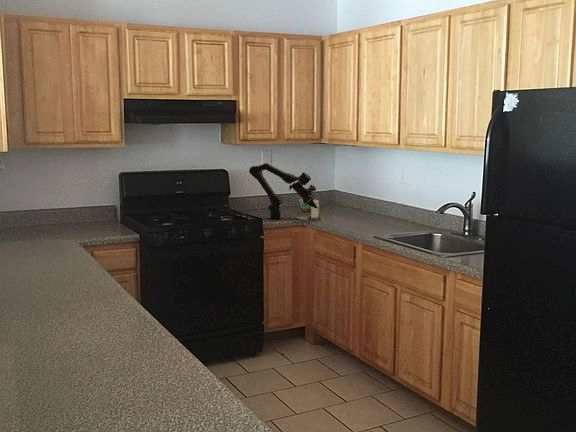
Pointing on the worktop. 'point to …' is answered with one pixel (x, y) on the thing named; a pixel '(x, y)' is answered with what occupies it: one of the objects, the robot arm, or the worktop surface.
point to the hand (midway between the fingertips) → (316, 206)
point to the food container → (305, 207)
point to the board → (310, 218)
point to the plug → (315, 210)
